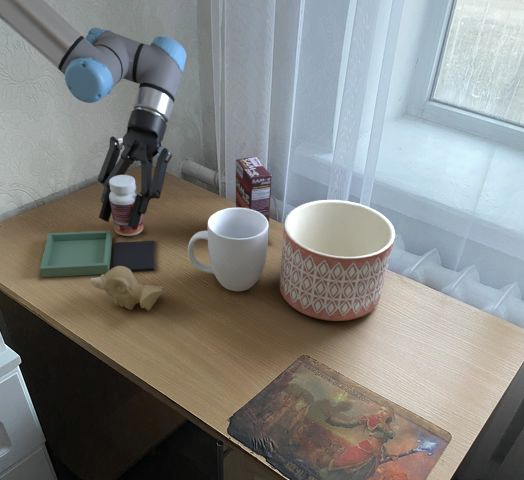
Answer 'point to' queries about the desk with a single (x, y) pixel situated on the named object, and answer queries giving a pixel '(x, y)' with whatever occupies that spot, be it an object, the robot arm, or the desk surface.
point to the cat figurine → (127, 288)
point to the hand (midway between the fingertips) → (118, 223)
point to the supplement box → (253, 186)
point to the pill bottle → (123, 204)
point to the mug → (234, 247)
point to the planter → (335, 259)
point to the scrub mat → (134, 255)
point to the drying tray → (76, 254)
